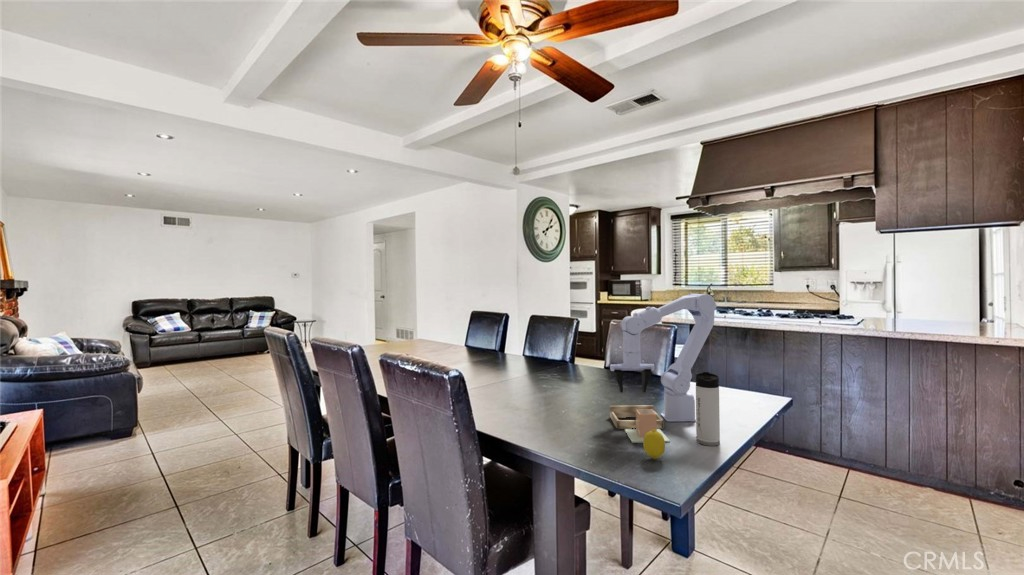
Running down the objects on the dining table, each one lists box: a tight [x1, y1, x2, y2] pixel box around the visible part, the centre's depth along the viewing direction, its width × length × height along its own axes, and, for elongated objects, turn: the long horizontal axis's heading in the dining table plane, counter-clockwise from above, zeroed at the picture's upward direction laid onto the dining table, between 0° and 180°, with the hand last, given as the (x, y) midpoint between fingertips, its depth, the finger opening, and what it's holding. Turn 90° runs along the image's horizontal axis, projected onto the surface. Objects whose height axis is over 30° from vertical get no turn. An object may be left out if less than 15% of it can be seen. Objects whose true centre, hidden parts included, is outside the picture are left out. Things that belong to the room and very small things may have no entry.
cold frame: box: [609, 404, 665, 430], centre depth 146 cm, size 15×12×4 cm
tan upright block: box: [635, 409, 658, 437], centre depth 134 cm, size 5×5×7 cm
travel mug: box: [695, 371, 721, 447], centre depth 128 cm, size 6×7×20 cm
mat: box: [624, 428, 671, 444], centre depth 133 cm, size 11×10×1 cm
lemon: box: [642, 429, 666, 460], centre depth 116 cm, size 6×6×8 cm
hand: (632, 391), depth 148 cm, fingers open, 7 cm apart
